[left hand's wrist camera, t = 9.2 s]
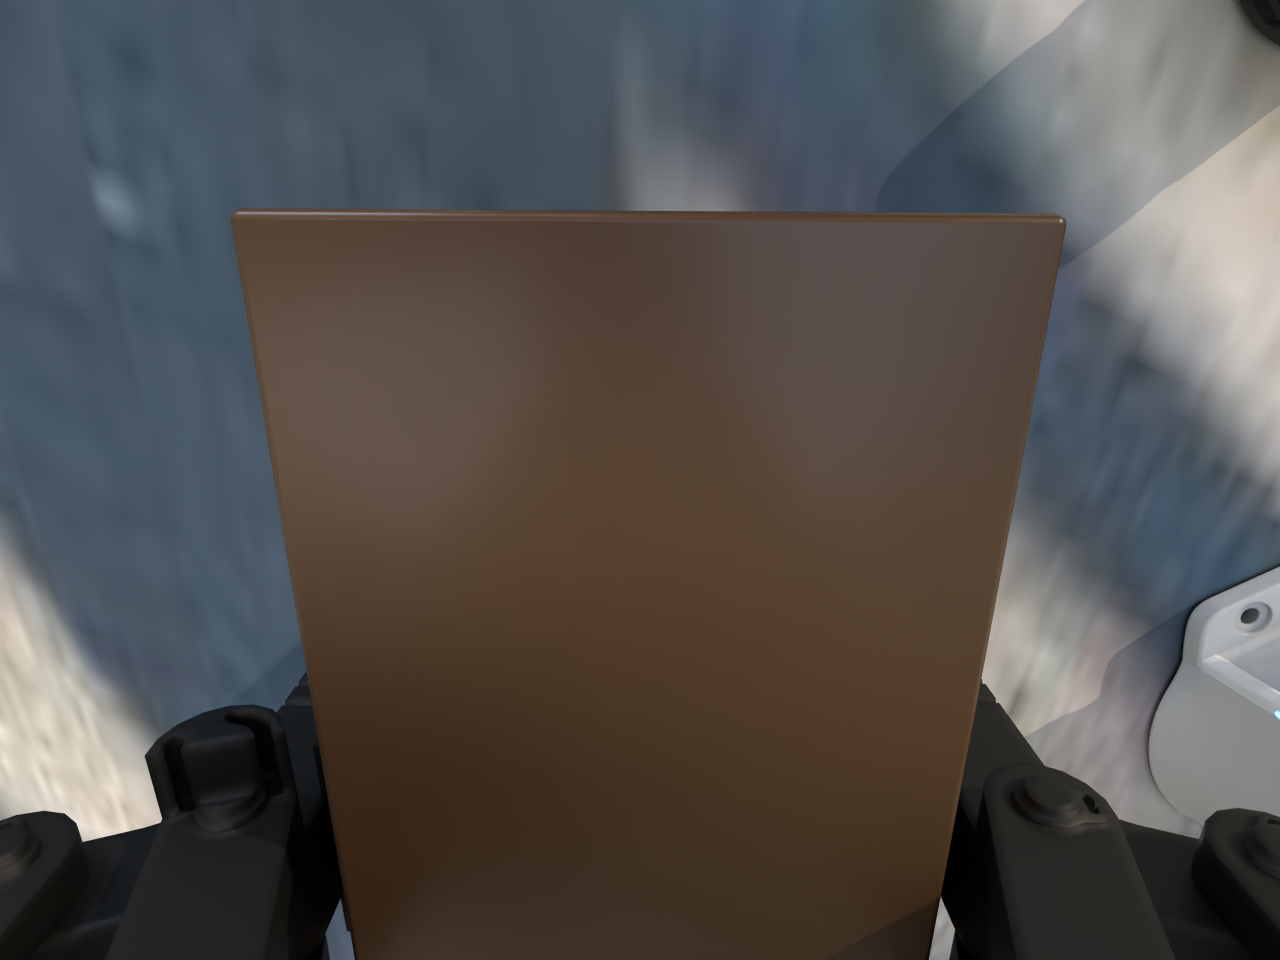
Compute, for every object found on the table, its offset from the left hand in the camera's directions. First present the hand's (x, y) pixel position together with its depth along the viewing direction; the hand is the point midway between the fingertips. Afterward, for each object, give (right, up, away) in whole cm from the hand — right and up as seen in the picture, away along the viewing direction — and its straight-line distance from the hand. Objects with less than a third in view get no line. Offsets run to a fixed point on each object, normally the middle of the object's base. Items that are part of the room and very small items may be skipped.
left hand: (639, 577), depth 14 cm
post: (0, -21, +8) cm, 23 cm away
